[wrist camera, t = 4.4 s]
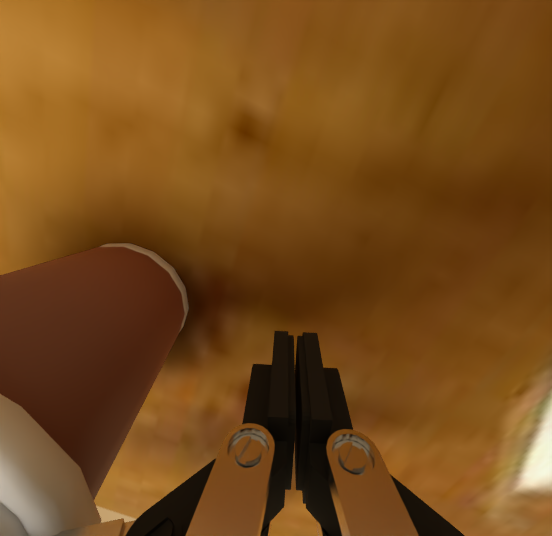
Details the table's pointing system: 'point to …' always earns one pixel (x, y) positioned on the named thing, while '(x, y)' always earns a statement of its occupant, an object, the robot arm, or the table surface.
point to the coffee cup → (77, 376)
